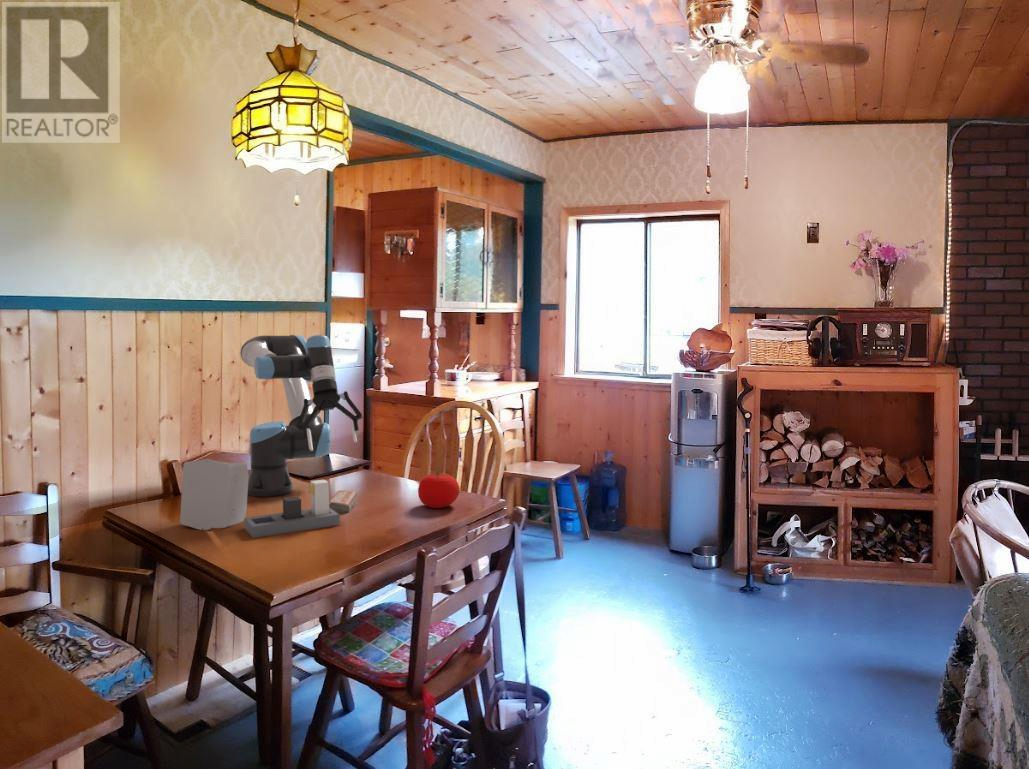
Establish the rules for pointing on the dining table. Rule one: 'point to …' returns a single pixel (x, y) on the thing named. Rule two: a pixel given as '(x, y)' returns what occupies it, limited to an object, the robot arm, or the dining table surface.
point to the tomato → (438, 490)
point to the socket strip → (288, 523)
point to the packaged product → (343, 501)
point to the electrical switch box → (213, 494)
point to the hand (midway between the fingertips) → (333, 445)
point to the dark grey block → (291, 508)
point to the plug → (319, 497)
